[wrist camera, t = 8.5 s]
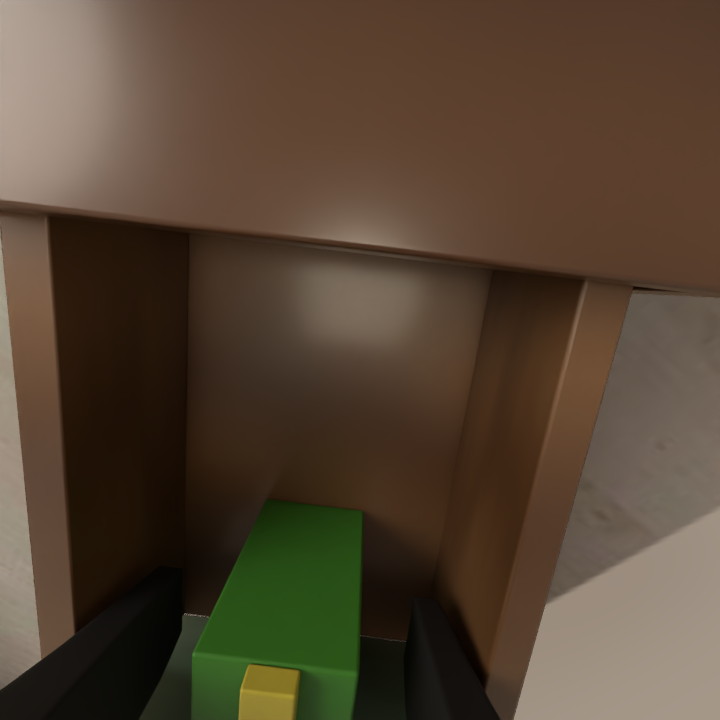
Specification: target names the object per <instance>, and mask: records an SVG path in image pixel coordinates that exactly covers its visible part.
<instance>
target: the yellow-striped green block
mask: <svg viewBox="0 0 720 720" xmlns="http://www.w3.org/2000/svg"><path fill="white" fill-rule="evenodd" d="M363 536H364V512H363V511H360V510H352V509H344V508H336V507H328V506H320V505H311V504H303V503H295V502H287V501H279V500H271V499H267V500H266V501H265V503H264V505H263V507H262V509H261V511H260V513H259V516H258V518H257V520H256V522H255V524H254V526H253V528H252V530H251V532H250V534H249V536H248V538H247V541H246V543H245V545H244V547H243V549H242V551H241V553H240V555H239V557H238V559H237V561H236V564H235V566H234V568H233V570H232V572H231V574H230V576H229V578H228V580H227V582H226V584H225V586H224V589H223V591H222V593H221V595H220V597H219V599H218V601H217V603H216V605H215V607H214V609H213V612H212V614H211V616H210V618H209V620H208V622H207V624H206V626H205V628H204V630H203V632H202V634H201V637H200V639H199V641H198V643H197V645H196V647H195V649H194V651H193V653H192V696H191V720H353V713H354V706H355V700H356V693H357V686H358V679H359V666H360V634H361V601H362V569H363Z"/></svg>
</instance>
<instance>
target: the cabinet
mask: <svg viewBox="0 0 720 720" xmlns="http://www.w3.org/2000/svg"><path fill="white" fill-rule="evenodd" d="M0 211H8V212H17V213H25V214H33V215H42V216H50V217H58V218H67V219H75V220H84V221H92V222H100V223H109V224H117V225H126V226H134V227H142V228H151V229H159V230H167V231H176V232H184V233H193V234H201V235H209V236H218V237H226V238H234V239H243V240H251V241H260V242H268V243H276V244H285V245H293V246H302V247H310V248H318V249H327V250H335V251H343V252H352V253H360V254H369V255H377V256H385V257H394V258H402V259H410V260H419V261H427V262H436V263H444V264H452V265H461V266H469V267H478V268H486V269H494V270H503V271H511V272H519V273H528V274H536V275H545V276H553V277H561V278H570V279H578V280H586V281H595V282H603V283H612V284H620V285H628V286H633V290H632V293H635V294H655V295H674V296H694V297H713V298H720V0H0Z"/></svg>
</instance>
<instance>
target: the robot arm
mask: <svg viewBox="0 0 720 720" xmlns="http://www.w3.org/2000/svg"><path fill="white" fill-rule="evenodd" d="M182 576H183V568H176V567H168V566H158V567H157V568H156V569H155V570H153V571H152V572H151V573H150V574H148V575H147V576H146V577H145V578H143V579H142V580H141V581H140V582H139V583H137V584H136V585H135V586H134V587H133V588H131V589H130V590H129V591H128V592H127V593H125V594H124V595H123V596H122V597H121V598H119V599H118V600H117V601H116V602H114V603H113V604H112V605H111V606H110V607H108V608H107V609H106V610H105V611H104V612H102V613H101V614H100V615H99V616H97V617H96V618H95V619H94V620H92V621H91V622H90V623H88V624H87V625H86V626H85V627H83V628H82V629H81V630H80V631H78V632H77V633H76V634H75V635H73V636H72V637H71V638H70V639H68V640H67V641H66V642H65V643H63V644H62V645H61V646H59V647H58V648H57V649H55V650H54V651H53V652H51V653H50V654H49V655H47V656H46V657H45V658H43V659H42V660H41V661H39V662H38V663H37V664H35V665H34V666H33V667H31V668H30V669H29V670H27V671H26V672H25V673H23V674H22V675H21V676H19V677H18V678H17V679H15V680H14V681H12V682H11V683H10V684H8V685H7V686H6V687H4V688H3V689H1V690H0V720H139V718H140V717H141V715H142V713H143V711H144V709H145V707H146V706H147V704H148V702H149V700H150V698H151V696H152V695H153V693H154V691H155V689H156V687H157V685H158V684H159V682H160V680H161V678H162V676H163V673H164V671H165V669H166V667H167V664H168V662H169V660H170V658H171V656H172V653H173V651H174V649H175V646H176V644H177V642H178V639H179V637H180V634H181V632H182ZM403 659H404V689H405V710H406V719H407V720H501V719H500V717H499V715H498V714H497V712H496V710H495V708H494V707H493V705H492V703H491V701H490V700H489V698H488V696H487V694H486V692H485V691H484V689H483V687H482V685H481V683H480V681H479V680H478V678H477V676H476V674H475V672H474V671H473V669H472V667H471V665H470V663H469V661H468V659H467V657H466V655H465V653H464V651H463V649H462V647H461V645H460V643H459V641H458V639H457V637H456V635H455V633H454V631H453V629H452V627H451V625H450V623H449V621H448V618H447V616H446V614H445V612H444V610H443V607H442V605H441V603H440V602H439V601H438V600H435V599H427V598H419V597H415V598H414V603H413V608H412V614H411V619H410V625H409V630H408V636H407V641H406V647H405V652H404V658H403Z"/></svg>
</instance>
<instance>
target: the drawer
mask: <svg viewBox="0 0 720 720" xmlns="http://www.w3.org/2000/svg"><path fill="white" fill-rule="evenodd" d="M0 232H1V243H2V253H3V263H4V274H5V284H6V295H7V305H8V315H9V326H10V336H11V346H12V357H13V367H14V378H15V388H16V398H17V409H18V419H19V429H20V440H21V450H22V461H23V471H24V481H25V492H26V502H27V512H28V523H29V533H30V544H31V554H32V564H33V575H34V585H35V595H36V606H37V616H38V626H39V637H40V647H41V658H42V659H43V658H45V657H46V656H47V655H49V654H50V653H51V652H53V651H54V650H55V649H57V648H58V647H59V646H61V645H62V644H63V643H65V642H66V641H67V640H68V639H70V638H71V637H72V636H73V635H75V634H76V633H77V632H78V631H80V630H81V629H82V628H83V627H85V626H86V625H87V624H88V623H90V622H91V621H92V620H94V619H95V618H96V617H97V616H99V615H100V614H101V613H102V612H104V611H105V610H106V609H107V608H108V607H110V606H111V605H112V604H113V603H114V602H116V601H117V600H118V599H119V598H121V597H122V596H123V595H124V594H125V593H127V592H128V591H129V590H130V589H131V588H133V587H134V586H135V585H136V584H137V583H139V582H140V581H141V580H142V579H143V578H145V577H146V576H147V575H148V574H150V573H151V572H152V571H153V570H155V569H156V568H157V567H158V566H168V567H176V568H183V576H182V632H181V634H180V637H179V639H178V642H177V644H176V646H175V649H174V651H173V653H172V656H171V658H170V660H169V662H168V664H167V667H166V669H165V671H164V673H163V676H162V678H161V680H160V682H159V684H158V685H157V687H156V689H155V691H154V693H153V695H152V696H151V698H150V700H149V702H148V704H147V706H146V707H145V709H144V711H143V713H142V715H141V717H140V718H139V720H191V696H192V653H193V651H194V649H195V647H196V645H197V643H198V641H199V639H200V637H201V634H202V632H203V630H204V628H205V626H206V624H207V622H208V620H209V618H206V617H198V616H190V615H184V613H189V614H197V615H205V616H211V614H212V612H213V609H214V607H215V605H216V603H217V601H218V599H219V597H220V595H221V593H222V591H223V589H224V586H225V584H226V582H227V580H228V578H229V576H230V574H231V572H232V570H233V568H234V566H235V564H236V561H237V559H238V557H239V555H240V553H241V551H242V549H243V547H244V545H245V543H246V541H247V538H248V536H249V534H250V532H251V530H252V528H253V526H254V524H255V522H256V520H257V518H258V516H259V513H260V511H261V509H262V507H263V505H264V503H265V501H266V500H267V499H271V500H279V501H287V502H295V503H303V504H311V505H320V506H328V507H336V508H344V509H352V510H360V511H363V512H364V536H363V569H362V601H361V634H360V635H366V636H374V637H382V638H390V639H398V640H406V641H407V636H408V630H409V625H410V619H411V614H412V608H413V603H414V598H415V597H419V598H427V599H435V600H438V601H439V602H440V603H441V605H442V607H443V610H444V612H445V614H446V616H447V618H448V621H449V623H450V625H451V627H452V629H453V631H454V633H455V635H456V637H457V639H458V641H459V643H460V645H461V647H462V649H463V651H464V653H465V655H466V657H467V659H468V661H469V663H470V665H471V667H472V669H473V671H474V672H475V674H476V676H477V678H478V680H479V681H480V683H481V685H482V687H483V689H484V691H485V692H486V694H487V696H488V698H489V700H490V701H491V703H492V705H493V707H494V708H495V710H496V712H497V714H498V715H499V717H500V719H501V720H513V719H514V715H515V712H516V708H517V705H518V701H519V697H520V694H521V690H522V687H523V683H524V679H525V676H526V672H527V669H528V665H529V661H530V658H531V654H532V650H533V647H534V643H535V640H536V636H537V633H538V628H539V625H540V622H541V618H542V614H543V611H544V607H545V604H546V600H547V596H548V593H549V589H550V586H551V582H552V578H553V575H554V571H555V568H556V564H557V560H558V557H559V553H560V550H561V546H562V542H563V539H564V535H565V531H566V528H567V524H568V521H569V517H570V513H571V510H572V506H573V503H574V499H575V495H576V492H577V488H578V485H579V481H580V477H581V474H582V470H583V467H584V463H585V459H586V456H587V452H588V448H589V445H590V441H591V438H592V434H593V430H594V427H595V423H596V420H597V416H598V412H599V409H600V405H601V402H602V398H603V394H604V391H605V387H606V384H607V380H608V376H609V373H610V369H611V365H612V362H613V358H614V355H615V351H616V347H617V344H618V340H619V337H620V333H621V329H622V326H623V322H624V319H625V315H626V311H627V308H628V304H629V301H630V297H631V293H632V290H633V286H628V285H620V284H612V283H603V282H595V281H586V280H578V279H570V278H561V277H553V276H545V275H536V274H528V273H519V272H511V271H503V270H494V269H486V268H478V267H469V266H461V265H452V264H444V263H436V262H427V261H419V260H410V259H402V258H394V257H385V256H377V255H369V254H360V253H352V252H343V251H335V250H327V249H318V248H310V247H302V246H293V245H285V244H276V243H268V242H260V241H251V240H243V239H234V238H226V237H218V236H209V235H201V234H193V233H184V232H176V231H167V230H159V229H151V228H142V227H134V226H126V225H117V224H109V223H100V222H92V221H84V220H75V219H67V218H58V217H50V216H42V215H33V214H25V213H17V212H8V211H0ZM405 647H406V642H399V641H391V640H383V639H375V638H367V637H360V666H359V679H358V686H357V693H356V700H355V706H354V713H353V720H407V719H406V710H405V689H404V659H403V658H404V652H405Z"/></svg>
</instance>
